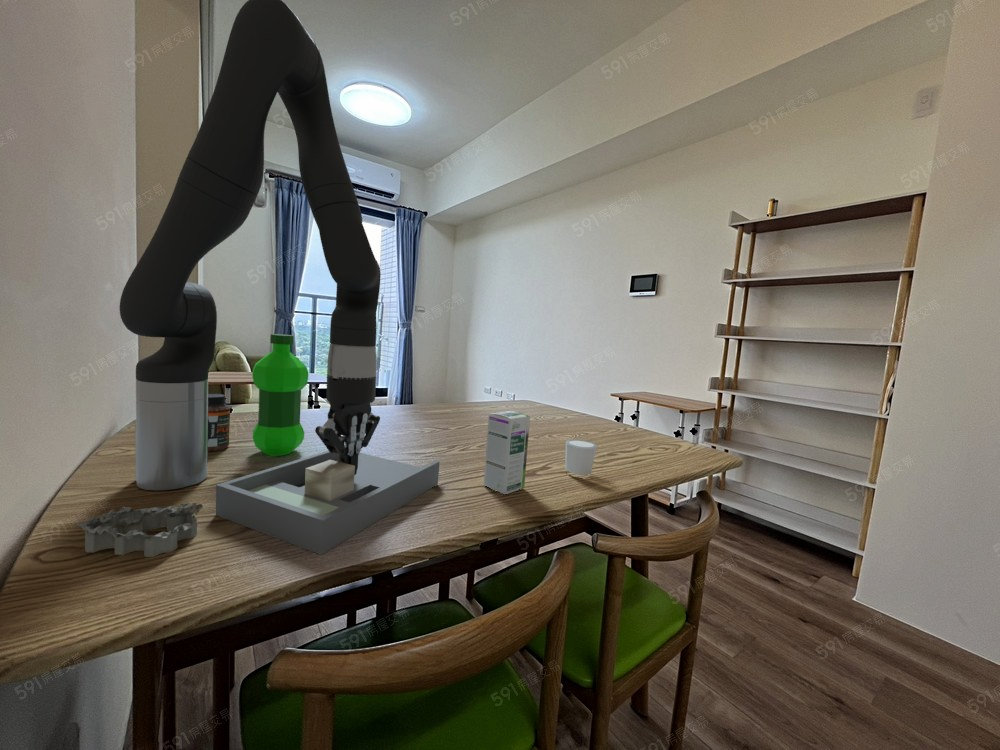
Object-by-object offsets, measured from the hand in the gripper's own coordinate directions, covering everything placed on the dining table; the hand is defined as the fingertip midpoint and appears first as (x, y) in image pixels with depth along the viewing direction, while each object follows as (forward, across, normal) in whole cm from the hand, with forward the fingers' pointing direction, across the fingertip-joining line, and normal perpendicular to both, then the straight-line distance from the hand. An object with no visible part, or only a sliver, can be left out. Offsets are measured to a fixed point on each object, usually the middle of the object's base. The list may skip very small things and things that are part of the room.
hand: (348, 475), depth 68 cm
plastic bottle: (+4, -9, -27) cm, 29 cm away
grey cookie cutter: (+4, +23, -11) cm, 26 cm away
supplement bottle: (+4, -4, -39) cm, 39 cm away
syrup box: (+4, -19, +21) cm, 28 cm away
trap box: (+4, +1, 0) cm, 4 cm away
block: (+1, +5, +1) cm, 5 cm away
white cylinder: (+4, -36, +32) cm, 48 cm away
